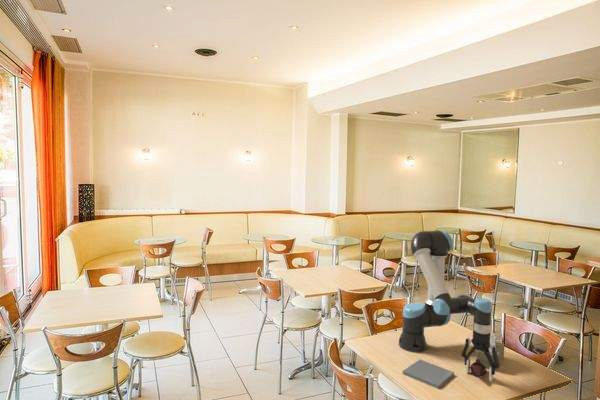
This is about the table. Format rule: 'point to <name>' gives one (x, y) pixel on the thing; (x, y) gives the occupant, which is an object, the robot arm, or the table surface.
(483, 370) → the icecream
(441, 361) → the table surface
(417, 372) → the slate plate
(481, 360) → the tissue box
